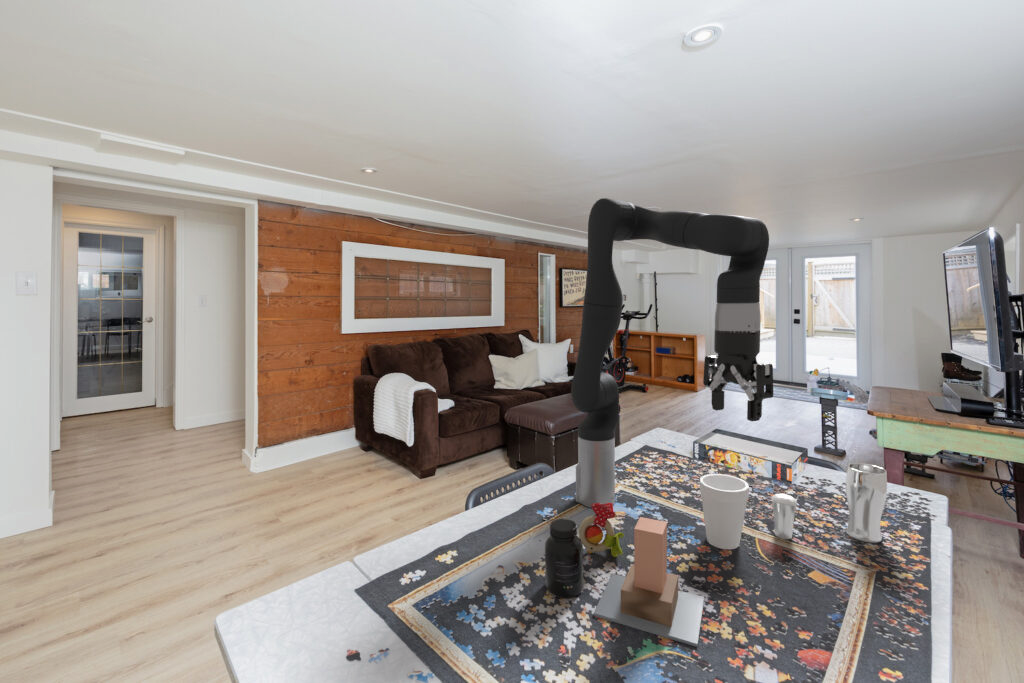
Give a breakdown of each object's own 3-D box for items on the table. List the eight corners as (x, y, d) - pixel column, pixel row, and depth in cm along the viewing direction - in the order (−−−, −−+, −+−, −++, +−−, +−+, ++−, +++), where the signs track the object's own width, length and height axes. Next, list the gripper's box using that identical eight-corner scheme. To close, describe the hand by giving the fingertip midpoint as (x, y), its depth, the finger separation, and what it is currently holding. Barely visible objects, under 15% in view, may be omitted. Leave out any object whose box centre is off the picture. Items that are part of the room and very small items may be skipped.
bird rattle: (592, 571, 92) (634, 554, 91) (569, 522, 91) (611, 504, 90) (589, 554, 98) (628, 538, 97) (567, 508, 97) (607, 491, 96)
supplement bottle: (542, 577, 86) (541, 516, 85) (578, 574, 87) (577, 514, 86) (548, 601, 80) (547, 535, 79) (587, 598, 80) (586, 532, 79)
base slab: (620, 612, 76) (620, 589, 75) (631, 585, 83) (631, 564, 82) (671, 627, 72) (671, 603, 72) (678, 597, 79) (678, 575, 79)
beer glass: (878, 531, 100) (882, 464, 99) (889, 546, 94) (892, 476, 93) (840, 525, 103) (843, 460, 102) (847, 540, 97) (851, 471, 96)
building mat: (593, 615, 76) (593, 612, 76) (612, 576, 86) (612, 573, 86) (697, 647, 68) (697, 643, 68) (704, 599, 79) (704, 596, 79)
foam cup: (711, 526, 104) (712, 470, 103) (754, 541, 97) (756, 482, 96) (691, 541, 98) (691, 482, 97) (735, 558, 91) (736, 496, 90)
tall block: (634, 586, 76) (634, 528, 75) (639, 571, 80) (640, 516, 79) (662, 593, 74) (662, 534, 73) (666, 578, 78) (667, 522, 77)
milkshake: (803, 542, 97) (805, 496, 96) (775, 540, 98) (776, 495, 97) (794, 531, 101) (796, 487, 100) (768, 529, 102) (769, 486, 101)
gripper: (693, 326, 89) (692, 408, 91) (752, 331, 76) (749, 426, 77) (724, 325, 92) (722, 405, 93) (786, 329, 78) (783, 422, 80)
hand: (735, 414), depth 85 cm, fingers open, 8 cm apart
